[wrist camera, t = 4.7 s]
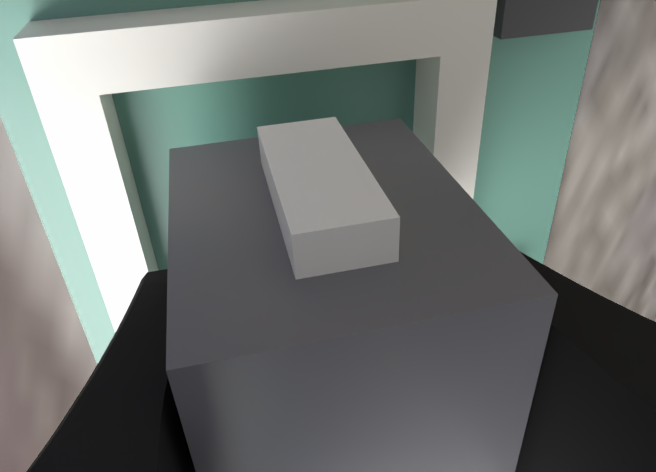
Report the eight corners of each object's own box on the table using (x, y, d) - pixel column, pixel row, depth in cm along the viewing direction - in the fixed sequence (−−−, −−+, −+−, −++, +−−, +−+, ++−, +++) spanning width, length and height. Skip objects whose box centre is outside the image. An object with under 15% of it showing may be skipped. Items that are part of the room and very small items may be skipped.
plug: (394, 292, 12) (506, 508, 8) (208, 327, 11) (227, 580, 7) (401, 84, 10) (569, 247, 5) (161, 114, 9) (152, 322, 5)
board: (510, 337, 18) (544, 383, 16) (128, 415, 16) (123, 477, 15) (606, -151, 11) (682, -154, 9) (-71, -117, 9) (-126, -112, 7)
